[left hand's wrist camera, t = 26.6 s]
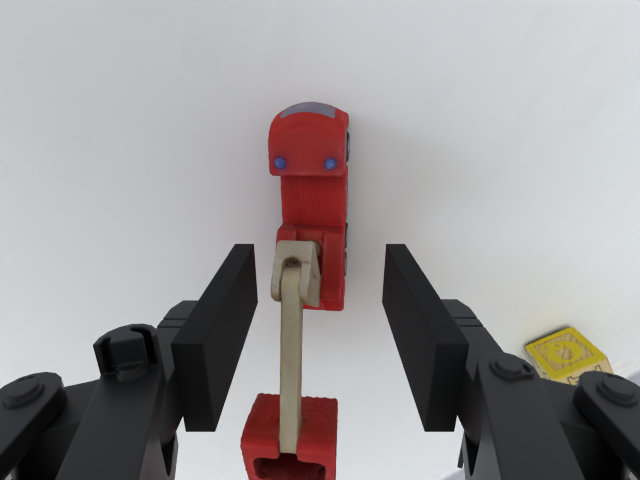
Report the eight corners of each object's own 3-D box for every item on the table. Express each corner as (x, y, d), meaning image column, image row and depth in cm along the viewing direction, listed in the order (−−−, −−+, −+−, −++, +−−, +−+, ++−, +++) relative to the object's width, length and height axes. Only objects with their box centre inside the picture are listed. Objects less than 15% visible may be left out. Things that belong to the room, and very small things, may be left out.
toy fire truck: (352, 103, 17) (344, 90, 8) (344, 343, 21) (334, 512, 12) (283, 103, 17) (197, 92, 8) (291, 339, 22) (242, 501, 13)
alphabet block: (538, 380, 22) (570, 419, 20) (522, 345, 21) (553, 381, 19) (585, 360, 22) (625, 397, 19) (570, 324, 21) (610, 357, 18)
